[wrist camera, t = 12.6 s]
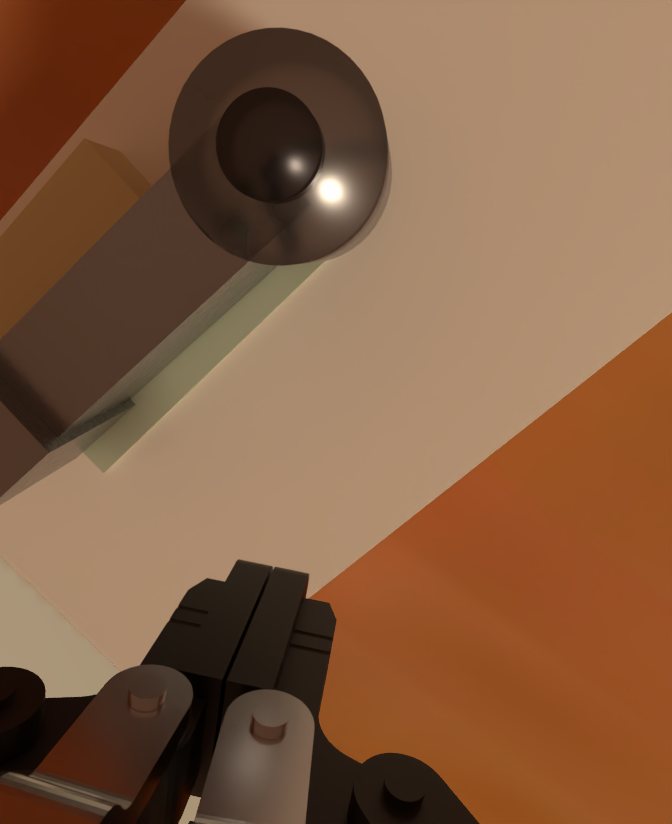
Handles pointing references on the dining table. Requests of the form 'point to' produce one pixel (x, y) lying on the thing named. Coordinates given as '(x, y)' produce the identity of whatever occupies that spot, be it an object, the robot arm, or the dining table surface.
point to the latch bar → (197, 238)
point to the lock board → (357, 297)
